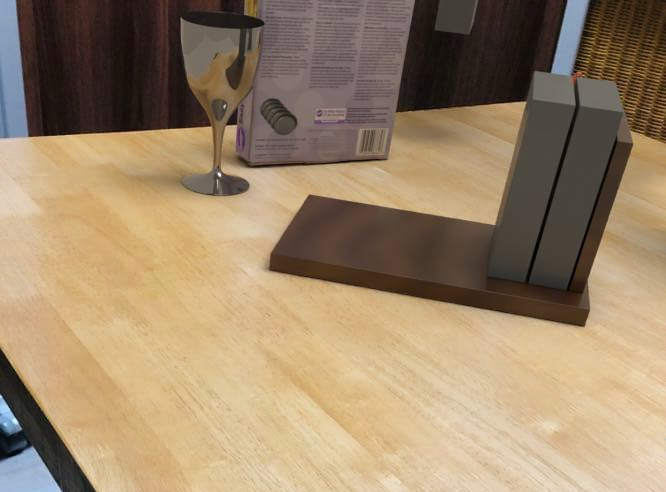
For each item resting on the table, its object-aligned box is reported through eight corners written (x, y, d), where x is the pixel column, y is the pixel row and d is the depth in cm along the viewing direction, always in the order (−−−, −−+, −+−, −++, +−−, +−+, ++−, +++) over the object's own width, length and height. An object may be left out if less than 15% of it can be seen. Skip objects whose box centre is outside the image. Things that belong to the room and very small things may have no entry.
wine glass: (194, 199, 87) (198, 29, 77) (167, 173, 92) (168, 10, 82) (265, 193, 90) (279, 29, 80) (236, 168, 95) (245, 11, 85)
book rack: (579, 254, 83) (628, 103, 74) (584, 326, 71) (644, 155, 63) (307, 209, 87) (323, 59, 78) (269, 269, 75) (283, 101, 66)
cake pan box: (378, 146, 105) (404, -25, 94) (398, 159, 102) (428, -17, 90) (232, 154, 99) (241, -29, 87) (248, 169, 95) (260, -20, 84)
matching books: (564, 247, 80) (616, 82, 71) (566, 290, 73) (624, 111, 64) (492, 235, 81) (534, 70, 72) (486, 276, 74) (532, 98, 65)
